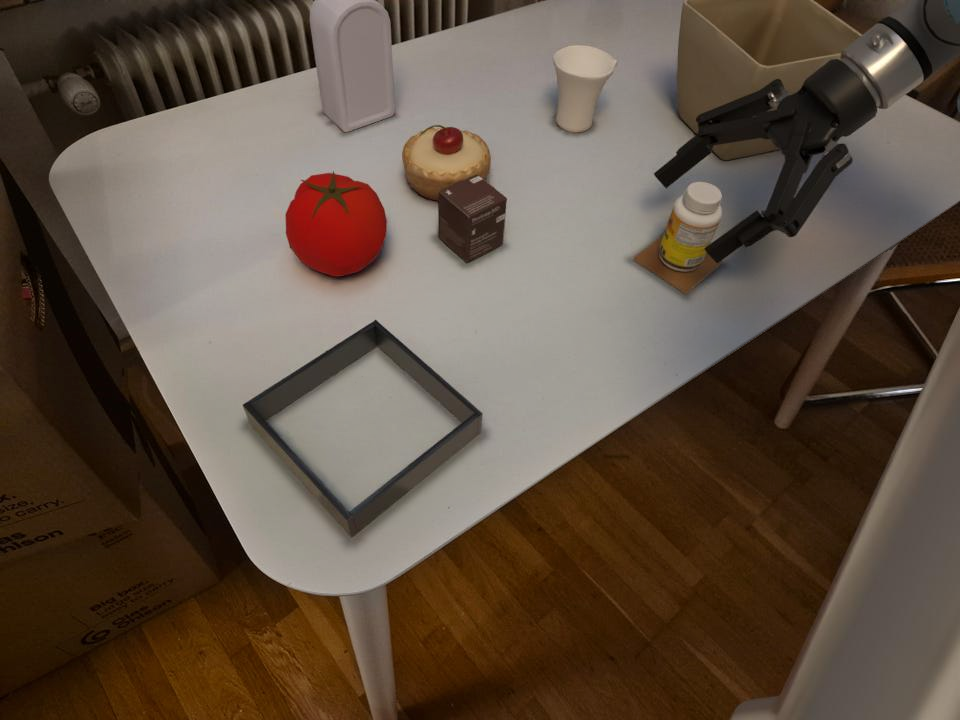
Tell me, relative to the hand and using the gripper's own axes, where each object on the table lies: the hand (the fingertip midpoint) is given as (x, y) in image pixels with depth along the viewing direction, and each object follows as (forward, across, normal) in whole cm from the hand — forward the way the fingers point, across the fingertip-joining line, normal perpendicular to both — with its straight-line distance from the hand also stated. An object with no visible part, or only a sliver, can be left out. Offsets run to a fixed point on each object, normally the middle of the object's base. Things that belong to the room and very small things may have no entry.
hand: (683, 217), depth 78 cm
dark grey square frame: (+34, +16, -23) cm, 44 cm away
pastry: (+22, -22, -11) cm, 33 cm away
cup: (+6, -32, +5) cm, 33 cm away
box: (+22, -9, -11) cm, 26 cm away
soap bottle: (+28, -39, -18) cm, 52 cm away
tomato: (+33, -9, -22) cm, 41 cm away
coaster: (+4, 0, +6) cm, 8 cm away
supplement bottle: (+4, 0, +6) cm, 7 cm away
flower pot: (-11, -25, +22) cm, 35 cm away
